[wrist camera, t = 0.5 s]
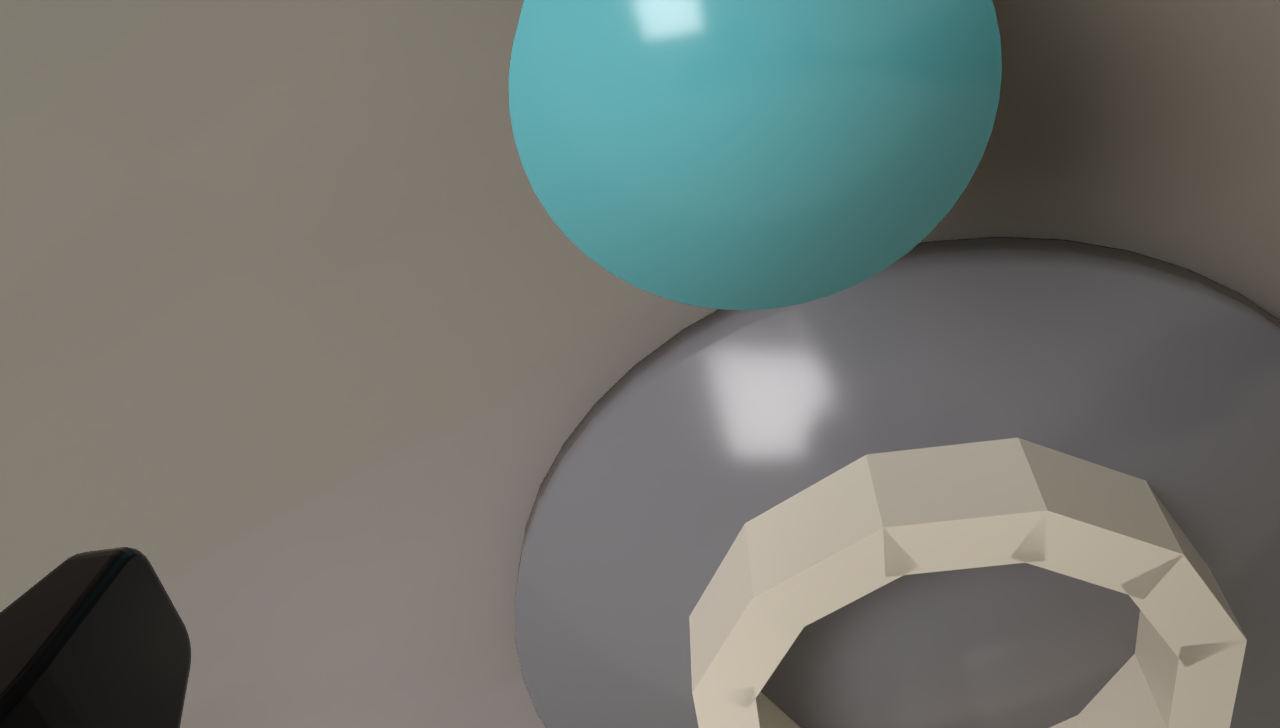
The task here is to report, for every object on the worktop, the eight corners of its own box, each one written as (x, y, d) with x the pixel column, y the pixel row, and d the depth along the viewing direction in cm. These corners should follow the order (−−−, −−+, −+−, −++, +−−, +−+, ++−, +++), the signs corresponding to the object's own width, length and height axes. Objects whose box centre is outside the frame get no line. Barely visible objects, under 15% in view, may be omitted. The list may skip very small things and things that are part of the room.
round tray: (1469, 173, 20) (1581, 263, 18) (1299, 816, 31) (1356, 930, 28) (426, 304, 22) (399, 404, 20) (594, 875, 32) (590, 987, 30)
